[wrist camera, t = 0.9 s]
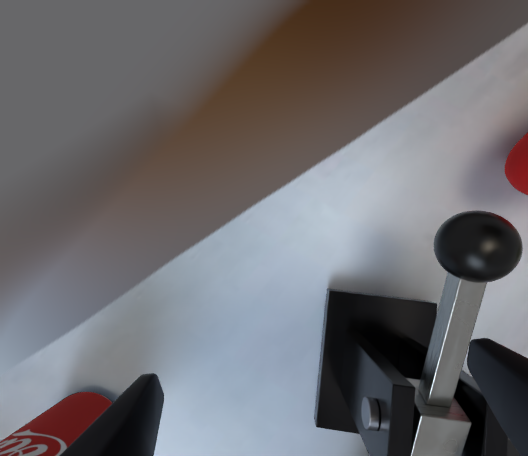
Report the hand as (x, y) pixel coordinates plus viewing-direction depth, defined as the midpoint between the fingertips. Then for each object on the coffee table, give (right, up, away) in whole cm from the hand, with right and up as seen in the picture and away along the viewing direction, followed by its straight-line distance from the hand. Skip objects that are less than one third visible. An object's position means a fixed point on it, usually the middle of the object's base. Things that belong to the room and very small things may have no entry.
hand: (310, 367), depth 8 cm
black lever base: (+7, -6, +15) cm, 17 cm away
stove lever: (+7, -1, +6) cm, 10 cm away
